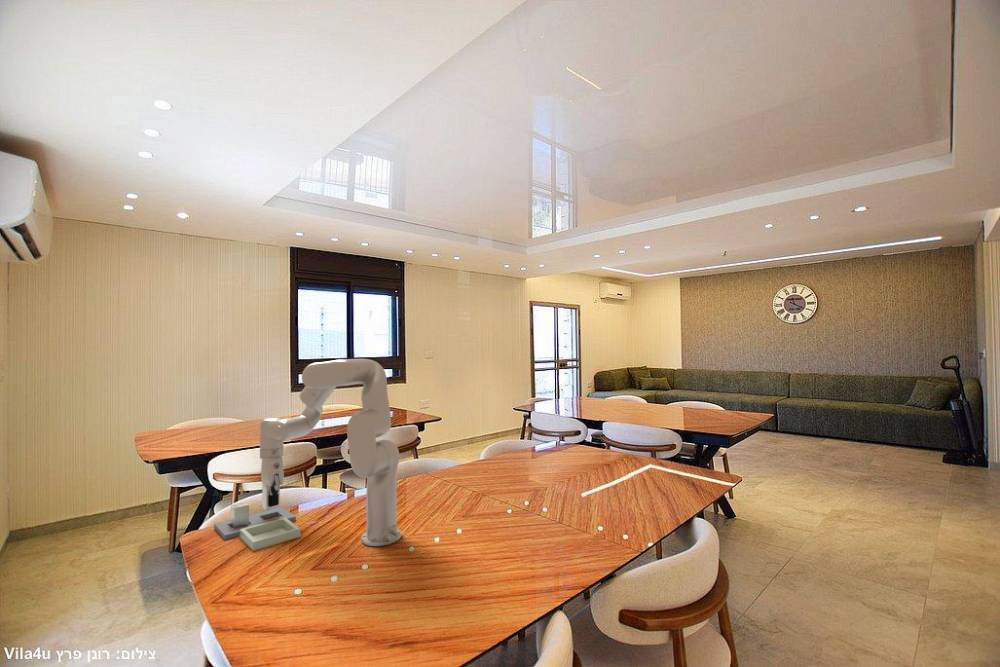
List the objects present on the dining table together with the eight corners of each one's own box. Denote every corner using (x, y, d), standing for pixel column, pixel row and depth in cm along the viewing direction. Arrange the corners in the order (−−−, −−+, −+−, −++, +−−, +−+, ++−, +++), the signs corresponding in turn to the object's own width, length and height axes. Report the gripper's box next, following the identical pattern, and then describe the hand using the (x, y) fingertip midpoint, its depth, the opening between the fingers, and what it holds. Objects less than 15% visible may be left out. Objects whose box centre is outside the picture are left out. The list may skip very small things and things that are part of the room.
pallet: (295, 523, 156) (295, 516, 156) (224, 543, 140) (224, 535, 140) (281, 513, 166) (281, 506, 166) (213, 530, 150) (214, 523, 150)
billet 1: (248, 531, 149) (249, 504, 150) (234, 535, 146) (234, 508, 147) (244, 527, 152) (245, 501, 153) (230, 531, 149) (230, 505, 150)
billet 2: (279, 507, 157) (279, 481, 157) (266, 510, 153) (266, 484, 154) (275, 504, 160) (275, 479, 160) (262, 507, 157) (262, 481, 157)
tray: (300, 539, 142) (300, 528, 142) (252, 554, 132) (253, 542, 132) (285, 527, 152) (285, 517, 152) (239, 540, 142) (239, 529, 142)
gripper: (291, 454, 154) (290, 507, 153) (274, 447, 166) (274, 496, 165) (268, 458, 149) (267, 513, 148) (253, 450, 161) (252, 501, 160)
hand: (271, 503), depth 157 cm, fingers closed on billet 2, 4 cm apart
